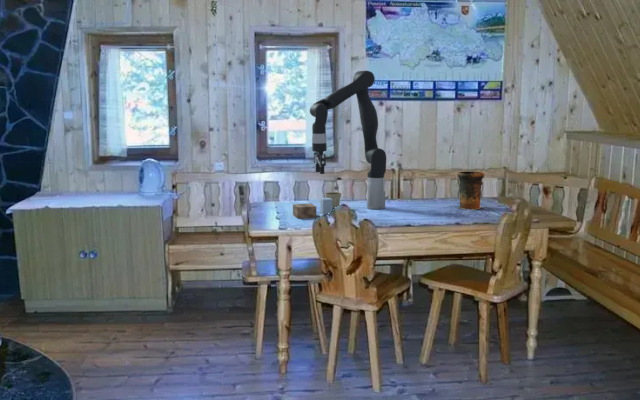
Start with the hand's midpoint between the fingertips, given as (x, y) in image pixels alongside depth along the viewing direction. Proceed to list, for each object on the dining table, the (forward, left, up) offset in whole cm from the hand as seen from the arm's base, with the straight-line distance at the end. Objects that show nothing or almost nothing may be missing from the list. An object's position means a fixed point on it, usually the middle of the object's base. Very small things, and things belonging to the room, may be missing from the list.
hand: (320, 173), depth 336 cm
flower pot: (-11, -11, -22) cm, 27 cm away
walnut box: (+10, +6, -22) cm, 25 cm away
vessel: (-84, +9, -22) cm, 87 cm away
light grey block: (-3, +2, -22) cm, 22 cm away
